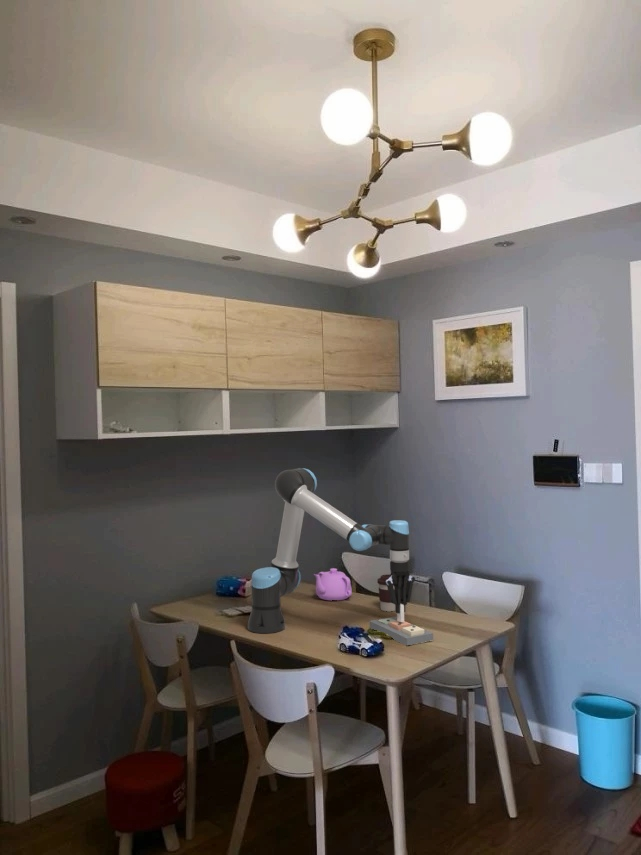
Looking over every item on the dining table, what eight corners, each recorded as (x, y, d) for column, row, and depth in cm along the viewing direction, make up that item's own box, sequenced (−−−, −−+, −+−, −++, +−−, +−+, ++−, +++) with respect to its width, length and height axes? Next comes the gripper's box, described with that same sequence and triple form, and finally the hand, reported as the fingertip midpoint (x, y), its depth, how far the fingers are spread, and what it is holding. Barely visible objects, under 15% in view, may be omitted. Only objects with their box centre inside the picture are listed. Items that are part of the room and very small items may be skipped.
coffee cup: (404, 611, 300) (404, 576, 300) (385, 614, 295) (384, 579, 295) (392, 605, 309) (392, 572, 308) (373, 608, 304) (373, 574, 304)
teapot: (297, 599, 322) (297, 570, 322) (329, 590, 338) (329, 562, 338) (331, 607, 307) (331, 576, 307) (363, 598, 323) (362, 569, 322)
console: (407, 646, 252) (406, 638, 252) (369, 628, 275) (369, 620, 275) (433, 641, 257) (433, 633, 257) (394, 623, 280) (394, 616, 280)
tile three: (398, 633, 262) (398, 625, 262) (389, 629, 267) (389, 621, 267) (411, 631, 265) (411, 623, 265) (402, 627, 270) (402, 619, 270)
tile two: (411, 639, 255) (411, 631, 255) (402, 635, 260) (402, 627, 260) (424, 637, 257) (424, 628, 257) (414, 633, 263) (414, 624, 263)
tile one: (386, 631, 270) (386, 623, 270) (377, 627, 275) (377, 619, 275) (398, 629, 272) (398, 620, 272) (390, 625, 278) (390, 617, 278)
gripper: (391, 564, 260) (392, 626, 260) (419, 560, 266) (420, 621, 266) (380, 560, 266) (381, 621, 266) (407, 557, 272) (408, 616, 272)
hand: (400, 621), depth 266 cm, fingers closed
